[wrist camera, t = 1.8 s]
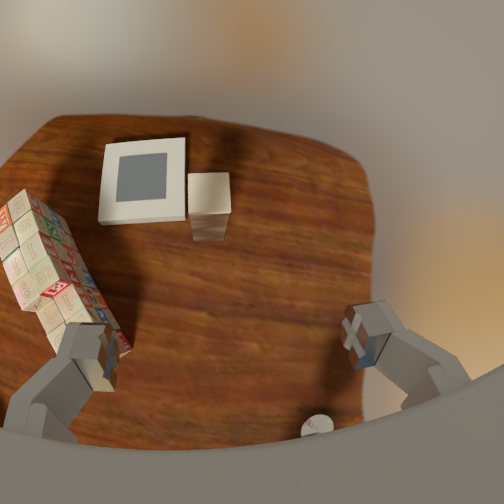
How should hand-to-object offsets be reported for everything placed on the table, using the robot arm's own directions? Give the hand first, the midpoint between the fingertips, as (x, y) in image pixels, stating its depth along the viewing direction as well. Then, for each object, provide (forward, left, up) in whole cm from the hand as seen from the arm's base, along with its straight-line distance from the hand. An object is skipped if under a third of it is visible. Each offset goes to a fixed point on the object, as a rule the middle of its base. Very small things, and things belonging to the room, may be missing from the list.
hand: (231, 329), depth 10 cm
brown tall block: (0, +12, -30) cm, 32 cm away
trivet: (-9, +19, -30) cm, 37 cm away
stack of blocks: (-19, +4, -30) cm, 36 cm away
